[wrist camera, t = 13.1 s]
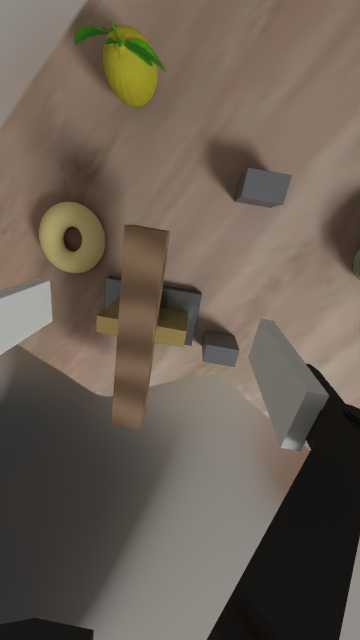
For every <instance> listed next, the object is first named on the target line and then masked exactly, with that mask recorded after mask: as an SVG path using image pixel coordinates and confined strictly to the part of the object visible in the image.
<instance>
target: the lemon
mask: <svg viewBox="0 0 360 640" xmlns="http://www.w3.org/2000/svg"><path fill="white" fill-rule="evenodd" d="M111 26H112V30H109V31H108V30H107V29H105V28H101V29H99V28H97V27H93V26H82V27H80V28H79V29H78V30H77V32H76V34H75V45H76V44H77V43H80V42H82V41H83V40H85V39H86V38H88V37H90V36H93V35H99V34H105V33H109V34H108V36H107V38H106V40H105V43H104V48H103V67H104V71H105V74H106V78H107V81H108V83H109V85H110V87H111V88H112V90H113V92H114V93H115V95H116V96H117V97H118V98H119V99H120V100H121V101H122V102H124V103H125V104H127V105H129V106H132V107H140V106H143V105H145V104H146V103H147V102H148V101H149V100H150V99H151V97H152V95H153V94H154V91H155V88H156V85H157V75H158V70H157V65H158V66H159V67H160V68H161V69H163V70H164V71H166V69H165V68H164V66H163V65H162V63H161V61H160V60H159V58H158V57H157V55H156V54H155V52H154V51H153V50H152V48H151V47H150V45H149V43H148V41H147V39H146V38H145V37H144V36H143V35H142V34H141V33H140V32H139V31H138V30H137V29H135V28H133V27H131V26H129V25H119V26H117V27H115V26H114V23H113V21H112V20H111Z"/></svg>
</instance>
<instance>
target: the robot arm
mask: <svg viewBox="0 0 360 640" xmlns="http://www.w3.org/2000/svg"><path fill="white" fill-rule="evenodd" d="M50 322H52V307H51V291H50V281H49V280H44V279H38V278H37V279H34V280H31V281H28V282H25V283H22V284H19V285H16V286H13V287H10V288H7V289H4V290H1V291H0V355H1V354H2V353H4V352H5V351H7V350H8V349H10V348H12V347H13V346H15V345H16V344H18V343H19V342H21V341H22V340H24V339H26V338H27V337H29V336H30V335H32V334H33V333H35V332H36V331H38V330H39V329H41V328H43V327H44V326H46V325H47V324H49V323H50ZM249 360H250V363H251V366H252V369H253V371H254V374H255V377H256V380H257V383H258V386H259V388H260V391H261V394H262V397H263V400H264V402H265V405H266V408H267V411H268V414H269V417H270V419H271V422H272V425H273V428H274V430H275V433H276V436H277V439H278V442H279V445H280V447H281V448H285V449H291V450H295V451H301V449H302V447H303V445H304V443H305V441H306V440H307V443H308V445H309V447H310V449H311V451H310V453H309V454H308V456H307V458H306V460H305V462H304V463H303V466H302V468H301V469H300V471H299V473H298V474H297V477H296V478H295V480H294V482H293V484H292V486H291V487H290V489H289V491H288V493H287V495H286V496H285V498H284V500H283V502H282V504H281V505H280V507H279V509H278V511H277V513H276V515H275V516H274V518H273V520H272V522H271V524H270V525H269V527H268V529H267V531H266V533H265V535H264V536H263V538H262V540H261V542H260V544H259V546H258V547H257V549H256V551H255V553H254V555H253V556H252V559H251V560H250V562H249V564H248V566H247V567H246V569H245V571H244V573H243V575H242V577H241V578H240V580H239V582H238V584H237V586H236V588H235V590H234V591H233V593H232V595H231V597H230V599H229V600H228V602H227V604H226V606H225V608H224V610H223V611H222V613H221V615H220V617H219V618H218V621H217V622H216V624H215V626H214V628H213V629H212V631H211V633H210V635H209V637H208V639H207V640H339V637H340V632H341V627H342V622H343V617H344V612H345V607H346V602H347V597H348V592H349V587H350V582H351V577H352V572H353V567H354V562H355V557H356V552H357V547H358V541H359V537H360V409H359V408H356V407H354V406H352V405H348V404H345V403H344V401H343V400H342V399H341V398H340V396H339V395H338V394H337V393H336V391H335V390H334V389H333V388H332V386H330V384H329V383H328V382H327V380H325V378H324V377H323V375H322V374H321V373H320V372H319V371H318V370H317V369H316V368H314V367H313V366H312V365H310V364H305V362H304V361H303V360H302V358H301V357H300V356H299V354H298V353H297V352H296V350H295V349H294V348H293V346H292V345H291V344H290V342H289V341H288V340H287V338H286V337H285V336H284V334H283V333H282V332H281V330H280V329H279V328H278V326H277V325H276V324H275V322H274V321H271V320H266V319H261V320H260V323H259V326H258V329H257V332H256V335H255V338H254V341H253V345H252V348H251V351H250V354H249ZM0 640H93V630H91V629H86V628H81V627H76V626H71V625H66V624H61V623H57V622H52V621H47V620H42V619H38V618H33V619H27V620H22V621H17V622H11V623H6V624H1V625H0Z"/></svg>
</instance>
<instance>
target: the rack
mask: <svg viewBox="0 0 360 640" xmlns="http://www.w3.org/2000/svg"><path fill="white" fill-rule="evenodd" d="M291 176H292V175H288V174H282V173H277V172H271V171H265V170H259V169H254V168H247V169H246V171H245V172H244V173H243V174H242V175H241V176H240V181H239V185H238V189H237V194H236V198H235V202H241V203H247V204H252V205H258V206H264V207H270V208H271V207H275V206H279V205H282V204H283V203H284V199H285V196H286V193H287V189H288V186H289V183H290V179H291ZM202 353H203V362H209V363H214V364H220V365H226V366H231V367H235V364H236V360H237V357H238V354H239V348H238V345H237V342H236V339H235V336H232V335H226V334H220V333H215V332H209V331H206V332H205V336H204V340H203V345H202Z"/></svg>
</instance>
